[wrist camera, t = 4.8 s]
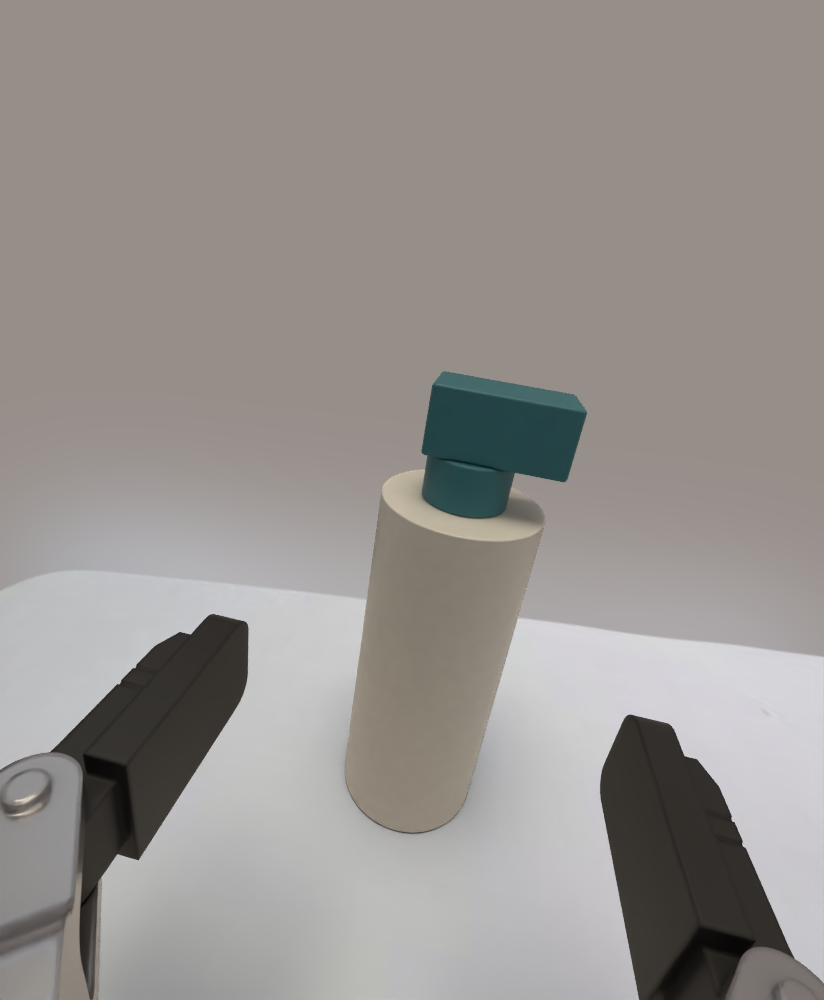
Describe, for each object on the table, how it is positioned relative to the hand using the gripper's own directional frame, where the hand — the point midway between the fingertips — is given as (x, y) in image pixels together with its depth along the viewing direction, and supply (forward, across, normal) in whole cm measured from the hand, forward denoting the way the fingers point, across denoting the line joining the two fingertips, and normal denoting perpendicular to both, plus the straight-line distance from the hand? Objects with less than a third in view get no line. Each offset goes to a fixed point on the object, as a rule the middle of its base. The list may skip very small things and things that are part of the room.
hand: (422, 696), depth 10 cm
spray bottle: (+6, 0, +10) cm, 12 cm away
